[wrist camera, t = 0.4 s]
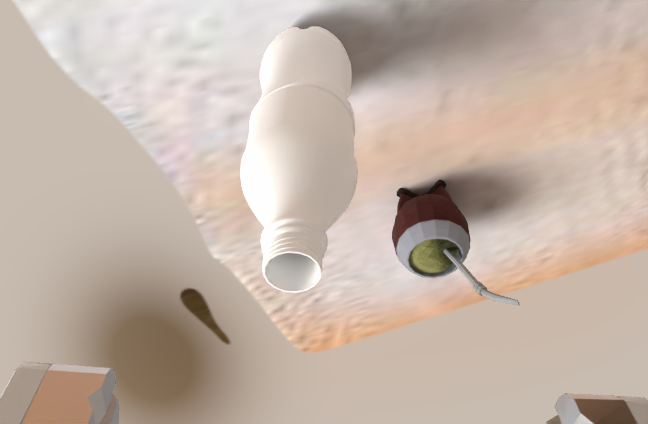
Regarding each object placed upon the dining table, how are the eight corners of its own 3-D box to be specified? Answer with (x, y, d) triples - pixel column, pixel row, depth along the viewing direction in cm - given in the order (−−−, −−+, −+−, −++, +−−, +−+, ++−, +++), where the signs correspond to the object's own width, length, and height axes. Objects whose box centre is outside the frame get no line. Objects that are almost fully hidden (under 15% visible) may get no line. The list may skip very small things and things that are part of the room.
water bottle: (274, 4, 46) (234, 203, 27) (361, 28, 47) (383, 236, 28) (256, 84, 50) (210, 305, 31) (336, 105, 51) (340, 329, 32)
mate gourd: (375, 212, 59) (386, 329, 48) (420, 156, 55) (445, 270, 43) (435, 239, 61) (459, 357, 50) (483, 187, 57) (522, 304, 46)
